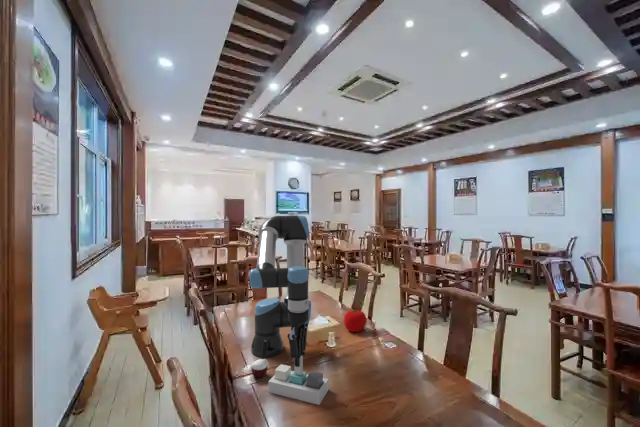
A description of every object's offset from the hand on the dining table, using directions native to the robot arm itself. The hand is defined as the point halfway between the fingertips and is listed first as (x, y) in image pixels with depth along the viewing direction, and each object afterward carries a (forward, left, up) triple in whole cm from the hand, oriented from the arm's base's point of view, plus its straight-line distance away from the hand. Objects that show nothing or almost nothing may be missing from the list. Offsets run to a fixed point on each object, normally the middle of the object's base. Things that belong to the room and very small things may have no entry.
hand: (298, 373), depth 111 cm
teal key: (0, 0, -4) cm, 4 cm away
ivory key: (-7, 0, -3) cm, 7 cm away
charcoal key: (+6, 0, -3) cm, 7 cm away
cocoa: (-19, +4, -7) cm, 21 cm away
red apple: (+5, +61, -7) cm, 62 cm away
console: (0, 0, -7) cm, 7 cm away
